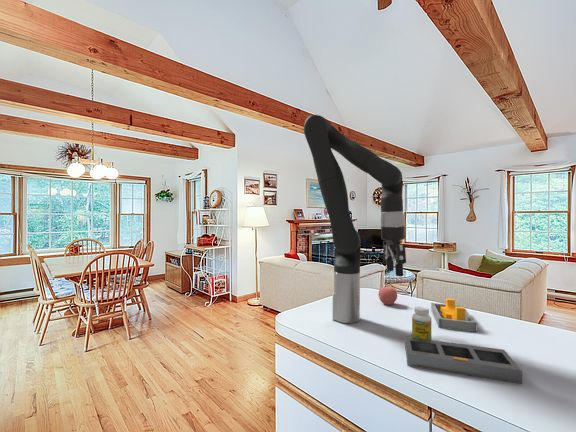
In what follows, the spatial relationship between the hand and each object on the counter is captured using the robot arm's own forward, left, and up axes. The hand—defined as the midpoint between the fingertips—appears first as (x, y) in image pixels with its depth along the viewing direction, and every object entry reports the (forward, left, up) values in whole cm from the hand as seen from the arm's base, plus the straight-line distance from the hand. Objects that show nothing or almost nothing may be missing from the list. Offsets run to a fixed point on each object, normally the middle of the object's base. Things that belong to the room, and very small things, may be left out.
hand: (394, 273), depth 99 cm
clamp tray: (+20, +15, -18) cm, 31 cm away
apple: (-2, +27, -19) cm, 33 cm away
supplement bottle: (+8, -7, -19) cm, 21 cm away
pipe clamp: (+20, +15, -19) cm, 31 cm away
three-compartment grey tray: (+15, -20, -18) cm, 31 cm away
